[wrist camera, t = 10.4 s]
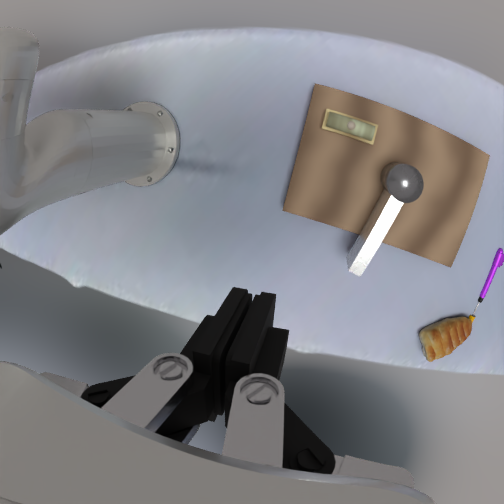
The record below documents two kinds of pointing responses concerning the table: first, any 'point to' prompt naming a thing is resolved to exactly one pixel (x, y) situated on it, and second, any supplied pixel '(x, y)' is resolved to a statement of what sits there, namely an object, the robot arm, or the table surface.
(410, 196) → the ball-ended lever
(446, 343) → the pastry
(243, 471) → the robot arm
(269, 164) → the table surface
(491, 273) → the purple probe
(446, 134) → the brown wooden board
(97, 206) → the table surface
